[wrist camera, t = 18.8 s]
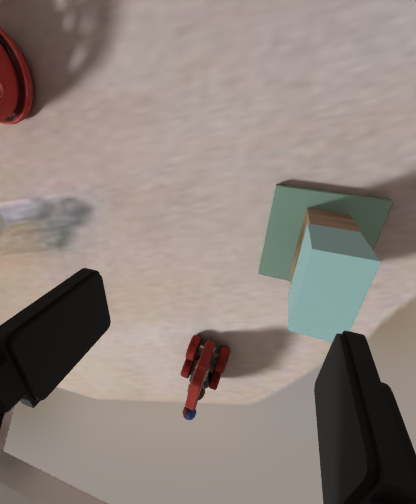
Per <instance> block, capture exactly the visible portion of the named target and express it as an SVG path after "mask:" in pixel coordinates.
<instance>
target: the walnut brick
mask: <svg viewBox="0 0 416 504" xmlns="http://www.w3.org/2000/svg"><path fill="white" fill-rule="evenodd" d="M307 224H314V225H320V226H326V227H332V228H339V229H345V230H351V231H357V232H360V233H361V234H362V233H363V232H362V231H361V230H360V228H359V227H358V226H357V224H356V223H355V222H354V220H353V219H352V217H351V216H350V215H349V214H344V213H337V212H331V211H324V210H317V209H311V208H307V209H306V213H305V217H304V220H303V224H302V228H301V231H300V235H299V239H298V243H297V246H296V250H295V254H294V258H293V261H292V265H291V283H292V279H293V275H294V272H295V268H296V264H297V261H298V257H299V253H300V250H301V246H302V242H303V239H304V235H305V231H306V228H307Z"/></svg>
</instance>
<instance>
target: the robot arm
mask: <svg viewBox="0 0 416 504" xmlns="http://www.w3.org/2000/svg"><path fill="white" fill-rule="evenodd" d="M110 322H111V321H110V315H109V310H108V305H107V300H106V295H105V290H104V285H103V280H102V276H101V275H100V274H99V272H98V271H95V270H91V269H87V268H83V269H81V270H80V271H78V272H77V273H75V274H74V275H72V276H71V277H70V278H68V279H67V280H65V281H64V282H62V283H61V284H59V285H58V286H57V287H55V288H54V289H52V290H51V291H49V292H48V293H46V294H45V295H44V296H42V297H41V298H39V299H38V300H36V301H35V302H33V303H32V304H31V305H29V306H28V307H26V308H25V309H23V310H22V311H20V312H19V313H18V314H16V315H15V316H13V317H12V318H10V319H9V320H8V321H6V322H5V323H3V324H2V325H0V504H108V503H106V502H104V501H102V500H100V499H98V498H96V497H94V496H92V495H90V494H88V493H86V492H84V491H82V490H80V489H78V488H76V487H74V486H72V485H70V484H68V483H66V482H64V481H62V480H60V479H58V478H56V477H54V476H52V475H50V474H48V473H46V472H44V471H42V470H40V469H38V468H36V467H34V466H32V465H30V464H28V463H26V462H24V461H22V460H20V459H18V458H16V457H14V456H11V455H10V454H8V453H6V452H4V451H3V450H4V446H5V442H6V437H7V434H8V430H9V426H10V421H11V418H12V414H13V410H14V406H15V405H16V404H17V403H18V402H19V401H21V402H22V403H23V404H25V405H27V406H30V407H32V408H34V407H35V406H36V405H37V404H38V403H39V401H40V400H44V399H45V398H46V397H47V396H48V395H49V394H50V393H51V392H52V391H53V390H54V389H55V388H56V386H57V385H58V384H59V383H60V382H61V381H62V380H63V379H64V377H65V376H66V375H67V374H68V373H69V372H70V371H71V370H72V369H73V367H74V366H75V365H76V364H77V363H78V362H79V361H80V360H81V359H82V357H83V356H84V355H85V354H86V353H87V352H88V351H89V350H90V348H91V347H92V346H93V345H94V344H95V343H96V342H97V341H98V340H99V338H100V337H101V336H102V335H103V334H104V333H105V332H106V331H107V329H108V328H109V326H110ZM315 404H316V416H317V429H318V441H319V453H320V466H321V477H322V490H323V503H324V504H416V454H415V451H414V449H413V446H412V443H411V440H410V438H409V435H408V433H407V430H406V427H405V424H404V422H403V419H402V416H401V414H400V411H399V408H398V405H397V403H396V400H395V397H394V395H393V392H392V391H391V388H390V387H389V386H388V385H387V384H385V383H382V382H381V381H380V378H379V375H378V372H377V369H376V366H375V363H374V361H373V358H372V355H371V352H370V349H369V346H368V343H367V340H366V337H365V336H364V335H362V334H358V333H354V332H349V331H343V332H342V334H339V333H337V334H336V336H335V338H334V340H333V342H332V345H331V347H330V349H329V352H328V354H327V356H326V359H325V361H324V363H323V366H322V368H321V370H320V373H319V375H318V377H317V380H316V382H315Z"/></svg>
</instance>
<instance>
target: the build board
mask: <svg viewBox="0 0 416 504" xmlns="http://www.w3.org/2000/svg"><path fill="white" fill-rule="evenodd" d="M392 204H393V201H391V200H390V199H383V198H376V197H369V196H361V195H354V194H346V193H339V192H332V191H324V190H317V189H309V188H302V187H295V186H287V185H280V184H277V185H276V189H275V194H274V199H273V204H272V209H271V214H270V219H269V224H268V229H267V233H266V238H265V243H264V248H263V253H262V258H261V263H260V268H259V273H258V274H261V275H265V276H270V277H274V278H279V279H283V280H288V281H291V265H292V261H293V258H294V254H295V250H296V246H297V243H298V239H299V235H300V231H301V228H302V224H303V220H304V217H305V213H306V209H307V208H311V209H317V210H324V211H331V212H337V213H344V214H349V215H350V216H351V217H352V219H353V220H354V222H355V223H356V224H357V226H358V227H359V228H360V230H361V231H362V232H363V233H362V235H363V237H364V238H365V240H366V241H367V242H368V244H369V245H370V247H371V248H372V249H373V248H374V246H375V244H376V241H377V239H378V237H379V234H380V232H381V230H382V227H383V225H384V223H385V220H386V218H387V216H388V214H389V211H390V209H391V207H392Z"/></svg>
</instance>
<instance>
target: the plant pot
mask: <svg viewBox="0 0 416 504" xmlns="http://www.w3.org/2000/svg"><path fill="white" fill-rule="evenodd" d="M32 101H33V84H32V79H31V75H30V71H29V69H28V66H27V64H26V61H25V59H24V57H23V55H22V53H21V52H20V50H19V48H18V47H17V46H16V44H15V43H14V41H13V40H12V39H11V38H10V37H9V36H8V35H7V34H6V33H5V32H4V31H3V30H2V29H1V28H0V123H2V124H16V123H18V122H20V121H22V120H23V119H24V118H25V117H26V116H27V114H28V113H29V111H30V109H31V106H32Z"/></svg>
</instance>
